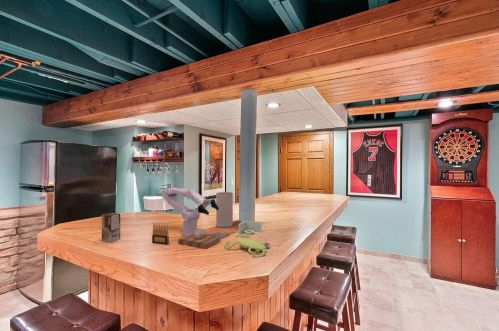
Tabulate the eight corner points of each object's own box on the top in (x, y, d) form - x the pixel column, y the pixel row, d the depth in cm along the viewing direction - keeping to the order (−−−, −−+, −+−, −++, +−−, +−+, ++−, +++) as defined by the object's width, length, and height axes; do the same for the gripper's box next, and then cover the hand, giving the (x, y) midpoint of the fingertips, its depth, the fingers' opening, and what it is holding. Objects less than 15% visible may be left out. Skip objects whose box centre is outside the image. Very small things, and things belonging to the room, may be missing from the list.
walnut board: (178, 243, 143) (178, 238, 143) (193, 237, 155) (193, 232, 155) (206, 249, 134) (206, 243, 134) (220, 241, 146) (220, 236, 146)
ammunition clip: (169, 243, 143) (169, 223, 143) (167, 244, 141) (167, 224, 141) (153, 242, 146) (153, 222, 146) (151, 243, 144) (151, 222, 144)
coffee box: (120, 239, 151) (120, 213, 151) (111, 242, 145) (111, 215, 145) (111, 237, 155) (111, 212, 155) (101, 240, 149) (101, 214, 149)
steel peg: (194, 243, 144) (194, 229, 144) (198, 241, 147) (198, 228, 147) (200, 244, 142) (200, 230, 142) (204, 242, 145) (204, 229, 145)
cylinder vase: (214, 227, 181) (214, 193, 181) (219, 223, 193) (219, 192, 193) (230, 228, 179) (230, 194, 179) (234, 224, 191) (234, 192, 191)
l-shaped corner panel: (238, 235, 162) (238, 224, 162) (245, 231, 173) (245, 220, 173) (255, 237, 157) (255, 225, 157) (261, 232, 168) (261, 221, 169)
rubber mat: (208, 236, 157) (208, 235, 157) (217, 232, 166) (217, 231, 166) (221, 238, 153) (221, 237, 153) (229, 234, 162) (229, 233, 162)
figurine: (240, 240, 151) (240, 231, 151) (277, 249, 135) (277, 239, 135) (219, 248, 136) (219, 238, 136) (259, 259, 120) (259, 248, 120)
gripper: (190, 199, 150) (204, 210, 143) (209, 191, 160) (222, 201, 153) (190, 208, 154) (203, 219, 146) (208, 200, 164) (221, 210, 156)
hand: (213, 211), depth 150 cm, fingers open, 7 cm apart
